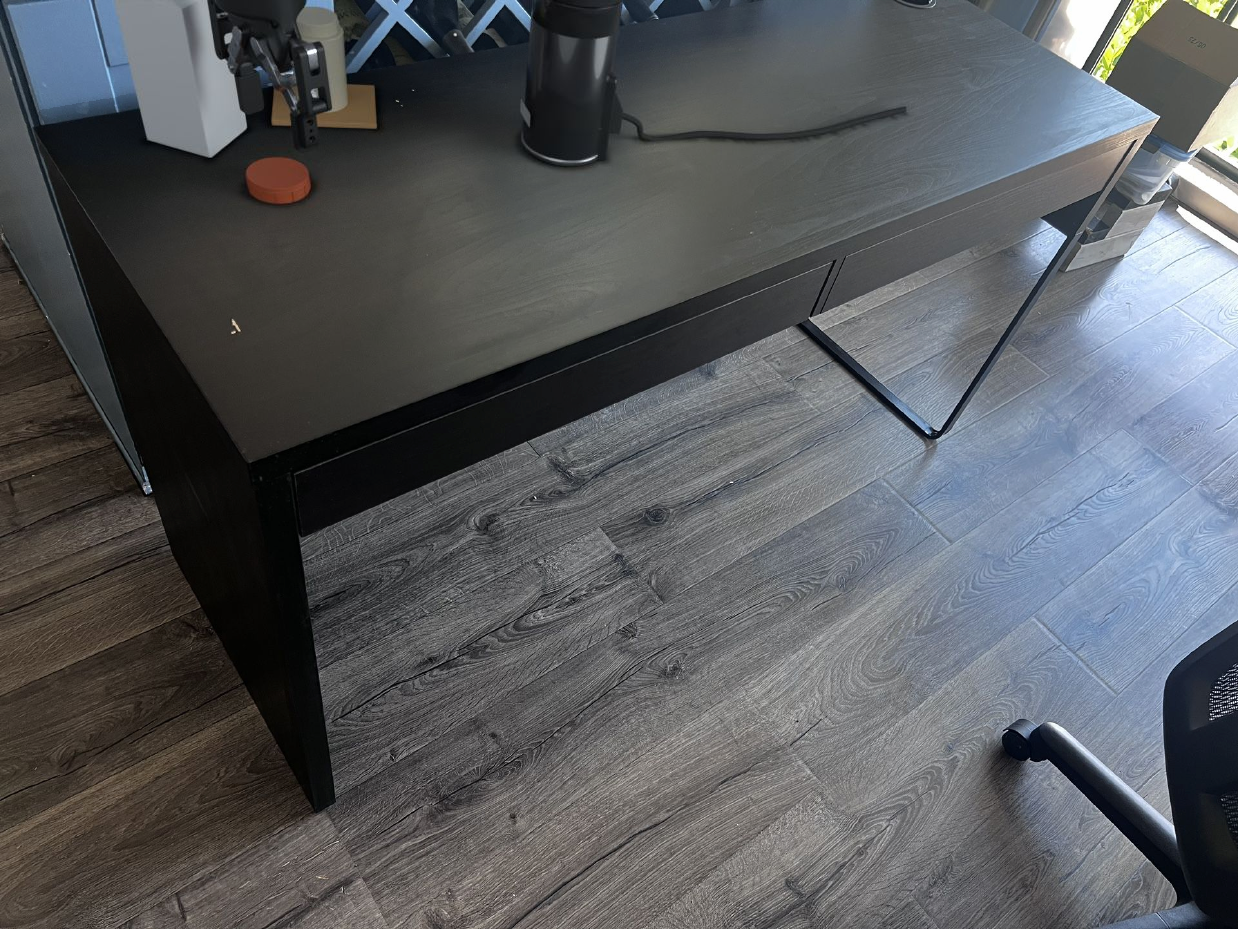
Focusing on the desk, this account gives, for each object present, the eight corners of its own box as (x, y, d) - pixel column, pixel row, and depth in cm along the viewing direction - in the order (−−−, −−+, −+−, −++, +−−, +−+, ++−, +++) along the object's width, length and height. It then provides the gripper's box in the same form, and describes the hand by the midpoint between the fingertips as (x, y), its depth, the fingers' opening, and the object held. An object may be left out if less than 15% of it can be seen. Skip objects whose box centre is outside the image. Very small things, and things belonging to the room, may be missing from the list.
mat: (374, 90, 110) (374, 85, 110) (376, 129, 104) (376, 123, 104) (275, 85, 107) (274, 80, 107) (271, 125, 102) (271, 120, 101)
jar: (348, 90, 108) (342, 6, 101) (348, 114, 104) (342, 28, 98) (296, 87, 107) (287, 2, 100) (295, 112, 103) (285, 25, 96)
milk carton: (248, 129, 100) (218, -63, 87) (210, 160, 96) (173, -39, 82) (187, 112, 101) (148, -82, 87) (147, 141, 96) (98, -58, 82)
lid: (239, 198, 92) (237, 182, 91) (260, 168, 96) (257, 152, 95) (299, 208, 92) (298, 193, 91) (317, 177, 96) (315, 162, 95)
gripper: (161, -77, 77) (200, 110, 89) (264, -16, 72) (290, 175, 84) (243, -91, 82) (269, 89, 93) (345, -34, 76) (360, 150, 88)
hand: (279, 130), depth 88 cm, fingers open, 8 cm apart
